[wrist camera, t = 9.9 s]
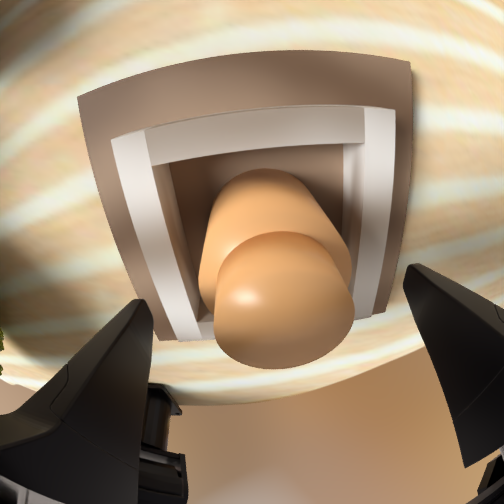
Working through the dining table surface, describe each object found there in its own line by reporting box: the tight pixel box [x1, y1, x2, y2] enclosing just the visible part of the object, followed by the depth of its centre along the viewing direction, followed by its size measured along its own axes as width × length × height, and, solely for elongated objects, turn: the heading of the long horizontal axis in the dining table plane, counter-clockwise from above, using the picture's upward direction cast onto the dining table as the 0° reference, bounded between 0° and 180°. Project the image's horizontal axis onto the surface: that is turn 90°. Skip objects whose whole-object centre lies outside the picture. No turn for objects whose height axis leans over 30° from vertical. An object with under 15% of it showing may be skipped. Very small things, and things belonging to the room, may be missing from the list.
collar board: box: [77, 50, 413, 342], centre depth 13 cm, size 16×16×4 cm
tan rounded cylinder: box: [198, 168, 355, 369], centre depth 10 cm, size 5×5×7 cm
